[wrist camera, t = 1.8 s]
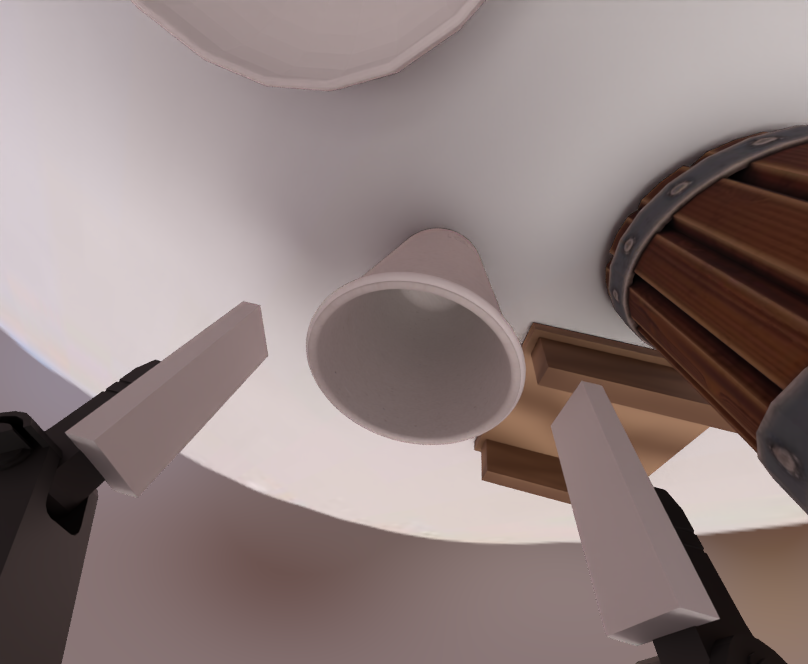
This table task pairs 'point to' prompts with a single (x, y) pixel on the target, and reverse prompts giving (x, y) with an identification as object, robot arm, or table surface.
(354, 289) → the dixie cup
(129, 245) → the table surface
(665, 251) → the mug
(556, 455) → the rail stand
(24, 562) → the robot arm
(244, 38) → the bowl
